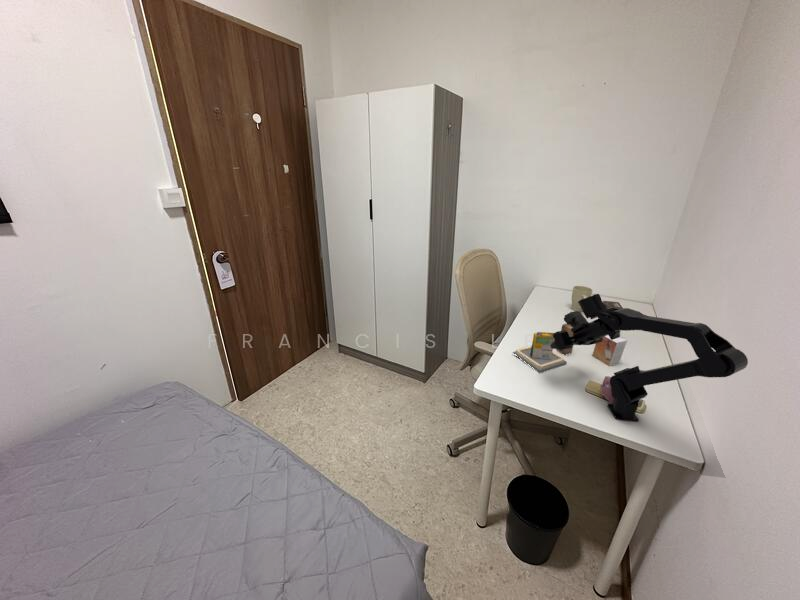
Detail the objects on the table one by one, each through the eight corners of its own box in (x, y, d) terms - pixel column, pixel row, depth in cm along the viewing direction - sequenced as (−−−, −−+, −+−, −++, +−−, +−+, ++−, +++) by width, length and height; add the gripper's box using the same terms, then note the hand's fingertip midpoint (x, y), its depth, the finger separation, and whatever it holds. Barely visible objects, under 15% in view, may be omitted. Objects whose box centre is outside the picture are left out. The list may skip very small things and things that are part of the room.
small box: (591, 355, 135) (598, 332, 131) (601, 353, 137) (608, 330, 133) (609, 366, 128) (616, 342, 124) (619, 363, 130) (627, 340, 126)
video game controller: (608, 390, 117) (602, 372, 116) (623, 390, 114) (617, 372, 113) (602, 405, 110) (596, 386, 109) (618, 406, 107) (612, 386, 106)
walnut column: (571, 353, 137) (578, 327, 132) (564, 355, 135) (570, 328, 130) (563, 348, 140) (569, 322, 135) (556, 350, 138) (562, 324, 134)
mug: (563, 308, 178) (568, 287, 174) (576, 305, 182) (581, 284, 177) (581, 316, 169) (586, 294, 164) (594, 313, 173) (600, 291, 168)
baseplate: (566, 364, 129) (567, 359, 128) (539, 373, 123) (540, 368, 122) (538, 347, 141) (539, 342, 140) (512, 354, 135) (513, 349, 134)
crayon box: (548, 355, 132) (554, 329, 128) (550, 359, 130) (556, 333, 125) (529, 354, 133) (534, 328, 128) (531, 358, 130) (536, 332, 126)
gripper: (603, 304, 115) (569, 321, 128) (563, 310, 107) (532, 327, 121) (618, 335, 110) (582, 349, 124) (578, 343, 103) (544, 357, 117)
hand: (560, 345), depth 121 cm, fingers open, 9 cm apart
